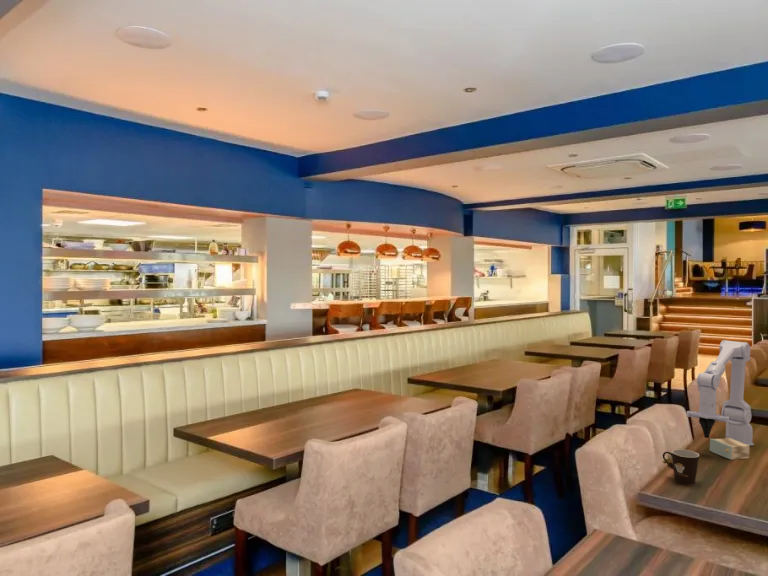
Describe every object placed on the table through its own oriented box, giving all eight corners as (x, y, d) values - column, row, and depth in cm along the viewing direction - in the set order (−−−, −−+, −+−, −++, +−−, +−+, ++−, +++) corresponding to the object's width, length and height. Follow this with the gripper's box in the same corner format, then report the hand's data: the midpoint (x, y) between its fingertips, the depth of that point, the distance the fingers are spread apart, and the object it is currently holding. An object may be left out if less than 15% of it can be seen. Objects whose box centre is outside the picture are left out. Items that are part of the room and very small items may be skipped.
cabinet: (729, 450, 235) (729, 438, 235) (749, 458, 226) (749, 445, 225) (712, 451, 234) (712, 439, 234) (731, 459, 224) (731, 447, 224)
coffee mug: (704, 485, 199) (705, 456, 199) (681, 486, 198) (682, 458, 197) (681, 472, 211) (682, 445, 210) (660, 474, 209) (660, 447, 209)
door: (710, 450, 234) (711, 438, 234) (731, 458, 224) (731, 446, 224) (706, 450, 234) (707, 438, 234) (727, 459, 224) (727, 446, 224)
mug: (678, 460, 224) (690, 442, 219) (684, 479, 216) (696, 461, 211) (659, 455, 225) (670, 437, 220) (664, 473, 217) (675, 455, 212)
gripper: (685, 402, 229) (684, 436, 230) (726, 408, 220) (726, 443, 220) (689, 399, 234) (688, 431, 235) (730, 404, 225) (729, 438, 226)
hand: (706, 437), depth 228 cm, fingers closed
